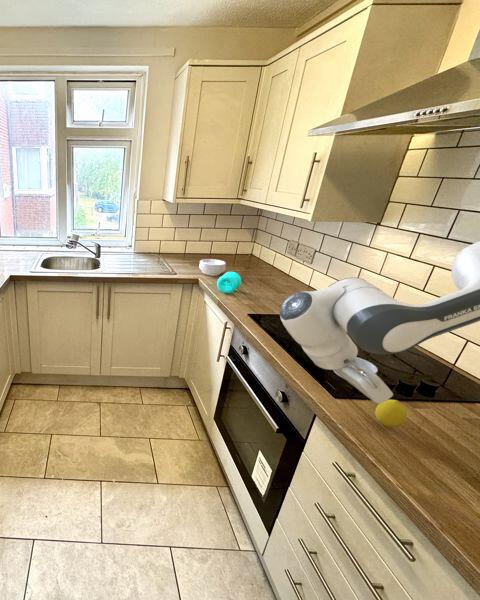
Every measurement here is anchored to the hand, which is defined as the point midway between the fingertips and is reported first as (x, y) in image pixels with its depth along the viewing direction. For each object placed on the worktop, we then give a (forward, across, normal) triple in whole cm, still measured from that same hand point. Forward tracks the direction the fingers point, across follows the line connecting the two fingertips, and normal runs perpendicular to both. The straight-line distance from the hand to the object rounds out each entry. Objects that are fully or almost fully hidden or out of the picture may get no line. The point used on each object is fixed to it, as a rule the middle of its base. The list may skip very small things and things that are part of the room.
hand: (358, 384), depth 75 cm
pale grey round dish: (+23, +22, -5) cm, 33 cm away
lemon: (+17, 0, +1) cm, 17 cm away
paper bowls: (+20, +128, -2) cm, 129 cm away
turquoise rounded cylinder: (+18, +97, 0) cm, 98 cm away
